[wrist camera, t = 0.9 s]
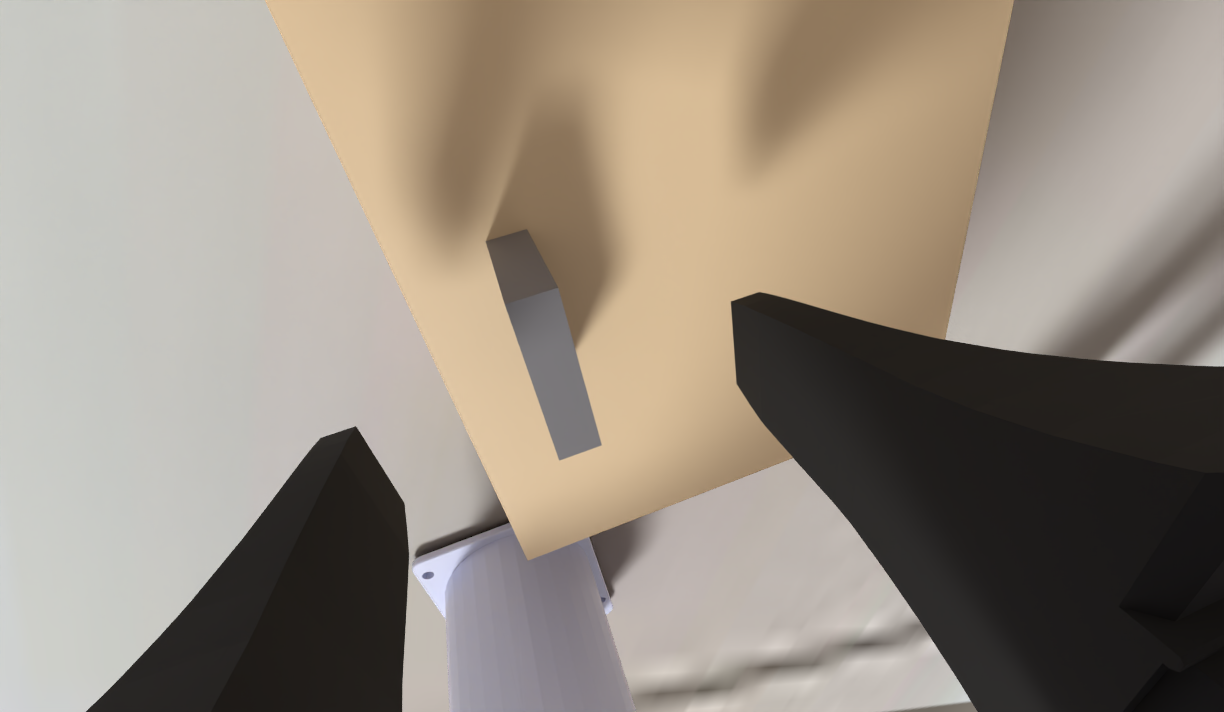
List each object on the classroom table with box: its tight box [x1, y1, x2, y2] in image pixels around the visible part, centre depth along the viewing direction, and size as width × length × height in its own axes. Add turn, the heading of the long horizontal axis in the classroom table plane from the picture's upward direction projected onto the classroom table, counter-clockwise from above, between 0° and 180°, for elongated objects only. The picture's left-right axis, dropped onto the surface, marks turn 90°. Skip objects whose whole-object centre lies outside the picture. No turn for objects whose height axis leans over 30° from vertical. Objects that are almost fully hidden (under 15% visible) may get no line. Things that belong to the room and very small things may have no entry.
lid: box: [265, 0, 1014, 560], centre depth 13 cm, size 18×16×4 cm
